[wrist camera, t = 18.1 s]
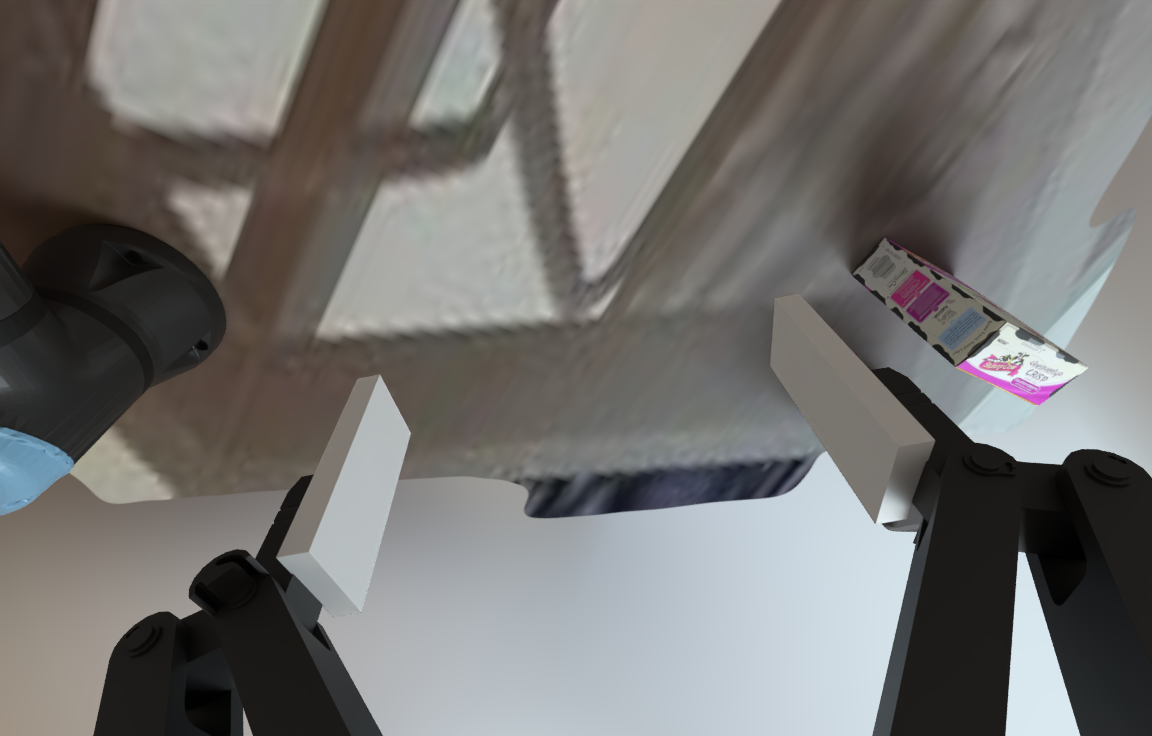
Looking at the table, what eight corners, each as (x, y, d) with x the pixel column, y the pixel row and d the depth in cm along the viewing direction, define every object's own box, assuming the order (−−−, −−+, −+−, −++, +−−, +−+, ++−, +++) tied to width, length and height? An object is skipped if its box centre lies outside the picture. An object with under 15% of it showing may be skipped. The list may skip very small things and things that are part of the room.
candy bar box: (847, 276, 52) (953, 369, 39) (882, 235, 50) (1008, 318, 37) (919, 314, 56) (1039, 410, 43) (956, 276, 53) (1095, 366, 40)
